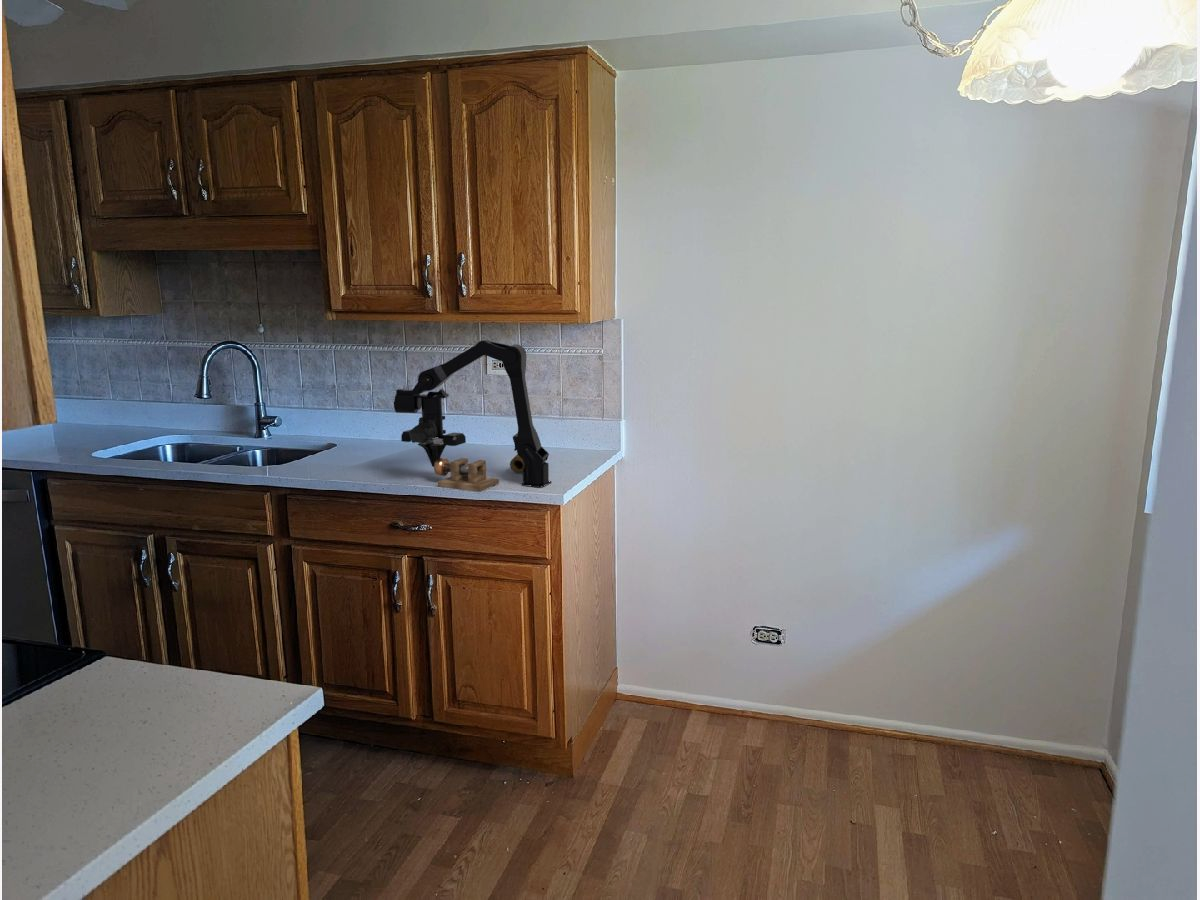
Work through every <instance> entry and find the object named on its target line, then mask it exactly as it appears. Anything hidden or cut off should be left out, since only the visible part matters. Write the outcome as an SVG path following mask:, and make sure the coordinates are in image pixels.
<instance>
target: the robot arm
mask: <svg viewBox="0 0 1200 900" xmlns="http://www.w3.org/2000/svg"><path fill="white" fill-rule="evenodd" d="M484 356H486V357H489V358H491V359H494V360H496V361H499V362H502V366H503V367H504V370H505V372H506V375H507V376H508V378H509V381H510V386H511V393H512V398H513V399H512V401H513V404H514V411H515V416H516V417H515V418H516V422H517V433H515V434H514V435H512V440H513V441H512V442H513V444H514V451H515V452H516V453H517V454H518V456H519V457H521V458H522V459H523V461H524V468H523V472H522V483H521V486H524V485H531V486H530V487H533V486H539V487H538V488H542V487H541V486H543V487H545V486H546V485H545V484H548V483H550V482H551V483H552V480H549V479H550V478H549V477H550V475H549V474H550V473H549V472H550V471H549V462H547V460H548V458H549V455H550V454H549V452H548V451H547V450H546V449H545V447H543V446H542V443H541V440H540V437H539V434H538V432H537V430H536V428H535V426H534V424H533V417H532V411H531V406H530V400H529V394H528V393H529V392H528V387H527V382H526V381H527V380H526V370H527V351H526V349H525V348H524V347H523V346H522V345H520V344H511V345H508V344H504V343H500V342H494V341H492V340H489V339H483V340H480V341H478V342H477V343H476V344H475V345H473V346H471V347H470V348H468V349H466V350H465V351H463V352H462V353H459V354H458V355H456V356H455V357H453V358H451V359H449V360H447V361H446V362H444V363H442V364H439V365H436V366H433V367H431V368H428V369H426V370H423V371H420V373H419V374H418V377H417V383H416V384H415V385H414V386H413V389H404V388H398V389H396V390H395V396H394V401H393V409H394V411H395V413H397V414H417V413H418V412H419V411H420V410H421V416H420V417H419V418H418V424H417V425H415V426H414V427H413V428H412V429H408V430H404V431H402V433H401V435H400V438H401V439H400V440H401V442H405V443H410V442H411V443H413V444H415V443H417V446H419V447H421V448H423V449H424V451H425V453H426V455H427V458H428V459H429V462H430V464H431V467H433V468H434V464H435V461H436V460H437V459H438V458H442V454H443V452H444V450H445V448H446V446H449V447H455V446H460V445H463V444H466V441H467V439H466V435H465V434H464V433H463V432H450V433H447V430H446V429H444V427H443V426H444V425H443V424H444V423H443V421H444V420H446V416H445V415H443V404H442V402H443V400H442V399H445V398H448V397H449V396H450V395H449V393H447V392H446V391H445V390H444V389H443V388H442V389H439V391H433V390H435V389H437V388H439V387H441V386H442V385H443V384H444V383H446V381H448V380H449V379H450V378H451V377H452V376H453V375H454V374H455V373H457V372H458V371H460V370H462V369H464V368H466V367H467V366H469V365H471V364H472V363H475V362H476V361H477V360H479V359H481V358H482V357H484ZM425 392H428V393H427V394H423V393H425ZM446 433H447V434H446ZM517 454H516V455H517ZM549 481H550V482H549ZM551 483H550V484H551ZM544 485H545V486H544ZM548 485H549V484H548Z"/></svg>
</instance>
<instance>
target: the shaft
mask: <svg viewBox="0 0 1200 900" xmlns="http://www.w3.org/2000/svg"><path fill="white" fill-rule="evenodd" d="M433 472H434V474H435V475H436V476H442V477H445V476H447V475H448V474H449V473H450V460H449V459H448V458H442V457H440V458H438V459H437V460H436V461H435V464H434V467H433ZM459 473H462V474H468V466H467V465H459ZM477 474H478V467H477Z"/></svg>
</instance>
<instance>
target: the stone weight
mask: <svg viewBox="0 0 1200 900" xmlns="http://www.w3.org/2000/svg"><path fill="white" fill-rule="evenodd" d="M509 467H510V468H511V471H513V472H514V473H521V474H523V468H524V461H523V459H522V458H521V457H519V456H518V454H516V455H515V456H514V457H513V458H512V459H511V460H510V462H509Z"/></svg>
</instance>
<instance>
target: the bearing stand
mask: <svg viewBox="0 0 1200 900" xmlns="http://www.w3.org/2000/svg"><path fill="white" fill-rule="evenodd" d="M449 463H450V472H449V473H450V476H449V477H446V478H444V479H441V480H438V481H437V488H446V489H452V490H454V489H455V490H461V491H470V492H477V493H478V492H479V493H480V492H483V491H485V490H488V489H490V488H489V487H491V486H493V485H496V484H498V483H499V484H500V479H499V478H495V477H494V478H493V477H488V476H487V461H486V460H483V459H478V460H476V461H473V462H470V463H469V459H468V458H465V457H460V458H459V459H455V460H452V461H449ZM459 465H467V466H468V474H462V473H459ZM477 467H478V474H477ZM499 484H498V485H499ZM496 486H497V485H496ZM493 487H494V486H493ZM487 488H488V489H487ZM491 488H492V487H491Z"/></svg>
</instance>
